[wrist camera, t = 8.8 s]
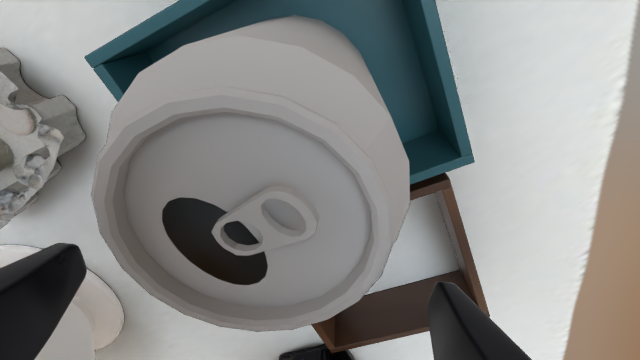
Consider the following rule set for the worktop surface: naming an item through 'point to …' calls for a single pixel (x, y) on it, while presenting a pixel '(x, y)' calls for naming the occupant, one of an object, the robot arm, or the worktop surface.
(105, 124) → the worktop surface
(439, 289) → the robot arm
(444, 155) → the teal tote
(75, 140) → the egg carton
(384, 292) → the walnut frame
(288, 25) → the can
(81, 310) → the decorative vase
